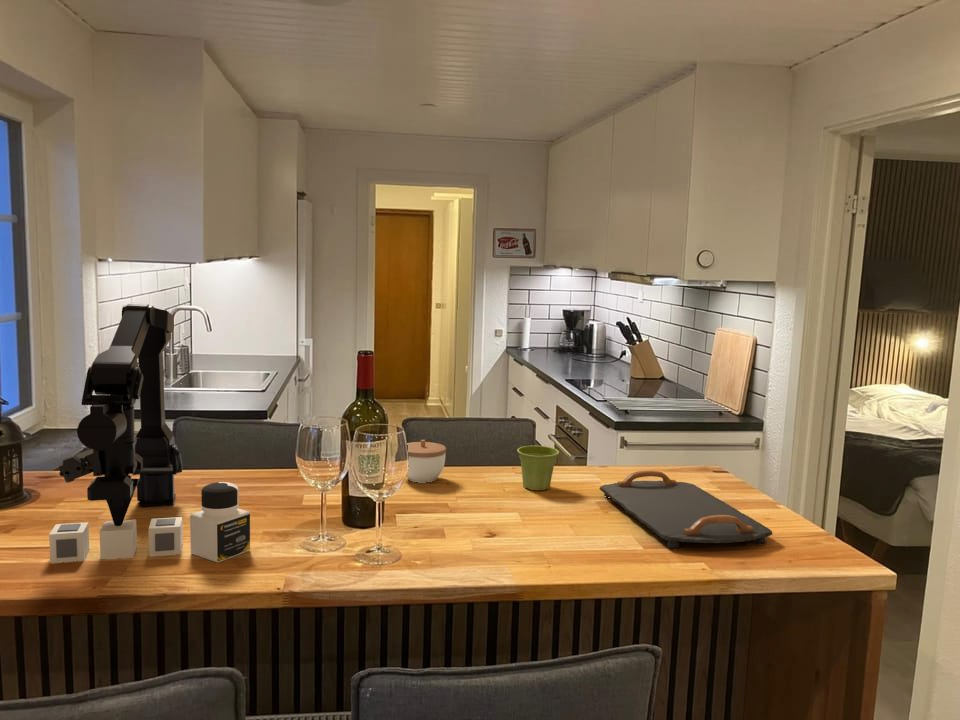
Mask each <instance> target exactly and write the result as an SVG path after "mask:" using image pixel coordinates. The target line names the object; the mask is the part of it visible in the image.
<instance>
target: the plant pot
mask: <svg viewBox="0 0 960 720" xmlns="http://www.w3.org/2000/svg"><path fill="white" fill-rule="evenodd" d="M516 451H517V453H518V457H519V459H520V466H521V467H520V468H521V475H522V476H521V479H522V487H523V488H524V487H525V488H524V489H528V490H529V489H530V491H532V490H543V491H544V490H549V489H550V488H551V482H552V477H553V473H554V472H553V471H554V468H555V463H556V460H557V456H558V455H559V454H560V451H559V450H558V449H556V448H554V447H550V446H545V445H525V446H520V447H519V448H517V450H516Z"/></svg>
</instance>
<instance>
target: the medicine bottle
mask: <svg viewBox="0 0 960 720" xmlns="http://www.w3.org/2000/svg"><path fill="white" fill-rule="evenodd" d="M200 492H201V510H198V511H196V512H193V513H191V514H190V515H189V525H190V527H189V528H190V529H189V530H190V531H189V533H190V536H189V538H190V542H189V543H190V555H191V554H192V555H193V556H197V557H199V558H202V559H205V560H208V561H212V562H215V563H218V564H219V563H221V562H224V561H226V560H229V559H232V558H235V557H238V556H240V555H242V554H245V553H248V552H250V551H251V512H250V511H249V510H244V509H241V508H239V507H240V506H239V502H240V501H239V500H240V499H239V498H240V497H239V496H240V495H239V494H240V493H239V492H240V491H239V487H238V486H237V484H235V483H232V482H227V481H218V482H212V483H209V484H207V485H205V486H203V487H202V488H201V490H200Z"/></svg>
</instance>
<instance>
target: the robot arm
mask: <svg viewBox="0 0 960 720" xmlns="http://www.w3.org/2000/svg"><path fill="white" fill-rule="evenodd" d="M174 323H175V322H174V316H173V314H171V312H169V311H168V310H167V309H166V308H165V309H164V308H156V307H155V306H154V305H150V304H147V303H146V304H145V303H144V304H143V303H127V304H126V305H124V304H123V306H122V308H121V319H120V320H119V324H118V327H117V329H116V331H115V333H114V336H113V338H112V341H111V344H110V346H109V348H108V349H106V350H105V351H102V352H99V354H97V355H96V357H95V358H94V360H93V362H92V363H91V366H89V367H88V369H87V372H86V377H85V382H84V386H83V387H84V388H83V391H82V397H81V398H82V399H81V405H82V406H89V414H87V415H86V416H84V417H82V419H81V420H80V421H79V422H78V426H77V428H76V434H77V438H78V441H79V442H80V443H81V444H82V445H83V446H85V447H86V448H88V450H85V451H83V452H79V453H77V454H73V455H70V456H68V457H65V458H64V459H63V460H61V462H59V464H58V465H57V466H58V468H59V472H58V474H59V476H60V477H63V478H64V481H65V483H72V482H74V481H75V480H76V479H79V478H81V477H84V476H86V475H90V474H92V475H93V477H95V478H94V479H93V480H92V481H91V482H90V484H89V485H88V486H87V491H86V492H87V494H86V495H87V501H89V502H90V501H91V502H93V501H97V502H98V501H106V504H107V507H108V509H109V513H110V516H111V518H112V521H113V522H114V525H115V526H121V525H122V523H123V521H124V520H125V518H126V515H127V513H128V510H129V507H130V504H131V501H132V499H133V496H134V494H135V492H136V501H137V502H138V506H139V507H155V506H171V505H174V504H175V500H176V496H177V494H176V492H175V476H176V475H177V474H179V473H182V472H183V461H182V455H181V452H180V451H179V447H178V445H177V444H176V443H175V434H174V432H173V431H172V430H171V428H170V427H169V425H167V423H166V410H165V409H166V408H165V407H166V406H165V405H166V403H165V382H164V381H165V379H164V378H165V376H164V351H165V350H166V347H167V345H168V344H169V343H170V341H171V339H172V333H173V332H174V328H175V327H174V326H175V324H174ZM93 393H94V394H93ZM137 400H139V406H140V407H139V408H140V410H139V411H140V428H139V430H138V432H137V434H135V406H134V405H135V404H136V401H137ZM137 475H139V478H132V476H137Z"/></svg>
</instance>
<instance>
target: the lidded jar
mask: <svg viewBox="0 0 960 720" xmlns="http://www.w3.org/2000/svg"><path fill="white" fill-rule="evenodd" d="M407 445H408V453H409V471H408V475H407V476H406V477H407V478H408V481H409V480H410V481H409V482H411V481H412V482H411V483H414V482H418V483H417V484H427V483H426V482H431V483H433V482H432V481H434V480H435V481H436V479H437V478H438V477H439V476H440V475H441V474H442V472H443V470H444V467H445V463H446V453H447V447H446V446H445V445H444V444H441V443H438V442H432V441H431V442H430V441H426V439H420V441H413V442H407ZM435 481H434V482H435Z"/></svg>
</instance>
